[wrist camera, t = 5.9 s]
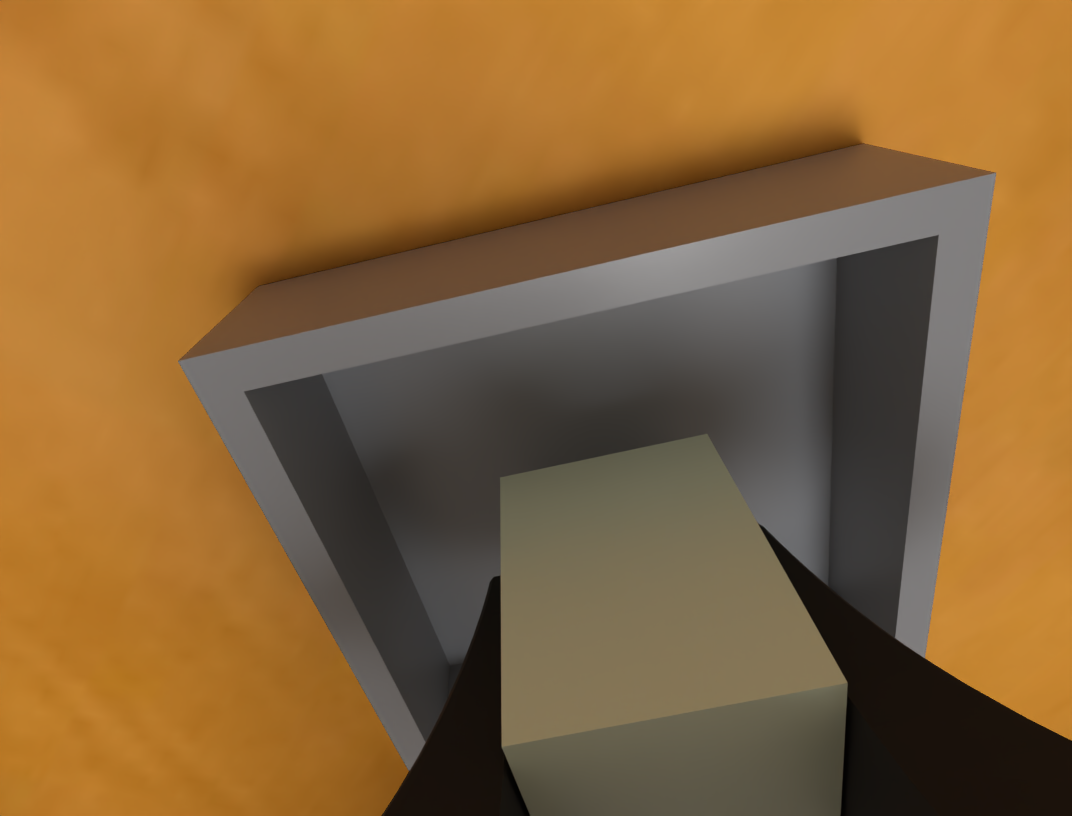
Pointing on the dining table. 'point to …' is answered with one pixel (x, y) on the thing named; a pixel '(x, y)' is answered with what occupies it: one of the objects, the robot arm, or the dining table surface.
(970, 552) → the dining table surface
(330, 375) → the bin
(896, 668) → the robot arm
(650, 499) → the block
